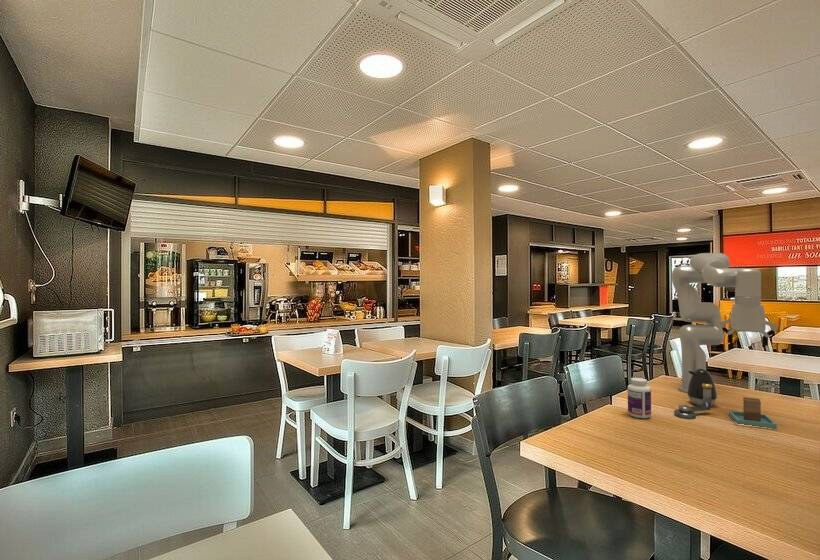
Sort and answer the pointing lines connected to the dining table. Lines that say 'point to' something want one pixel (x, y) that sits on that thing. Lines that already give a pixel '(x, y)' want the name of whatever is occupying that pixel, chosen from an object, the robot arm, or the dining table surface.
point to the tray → (765, 421)
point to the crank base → (684, 414)
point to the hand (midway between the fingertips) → (747, 346)
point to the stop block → (752, 409)
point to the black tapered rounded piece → (700, 386)
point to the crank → (706, 401)
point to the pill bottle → (639, 398)
